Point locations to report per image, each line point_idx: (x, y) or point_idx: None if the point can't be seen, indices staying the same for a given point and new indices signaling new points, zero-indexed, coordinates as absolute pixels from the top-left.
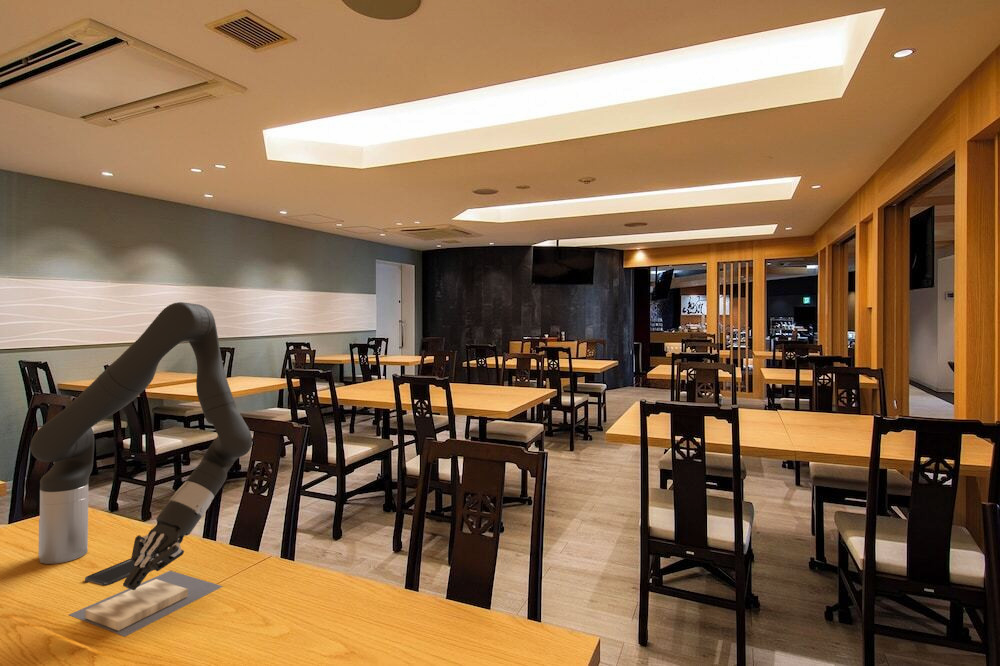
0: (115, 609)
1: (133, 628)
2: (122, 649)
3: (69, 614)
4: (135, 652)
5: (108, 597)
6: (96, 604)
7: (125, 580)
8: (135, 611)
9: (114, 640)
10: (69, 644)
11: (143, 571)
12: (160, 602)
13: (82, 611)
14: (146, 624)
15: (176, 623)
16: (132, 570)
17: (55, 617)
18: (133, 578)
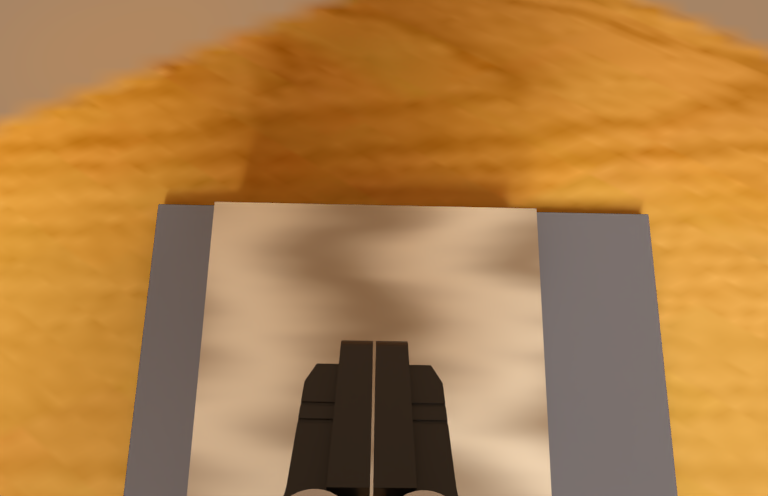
0: (377, 287)
1: (185, 271)
2: (90, 148)
3: (646, 218)
4: (7, 157)
5: (670, 438)
6: (639, 350)
7: (407, 362)
8: (233, 322)
9: (198, 179)
10: (365, 79)
11: (289, 492)
12: (189, 482)
13: (621, 266)
14: (152, 328)
15: (20, 427)
16: (445, 463)
17: (694, 189)
18: (338, 397)
